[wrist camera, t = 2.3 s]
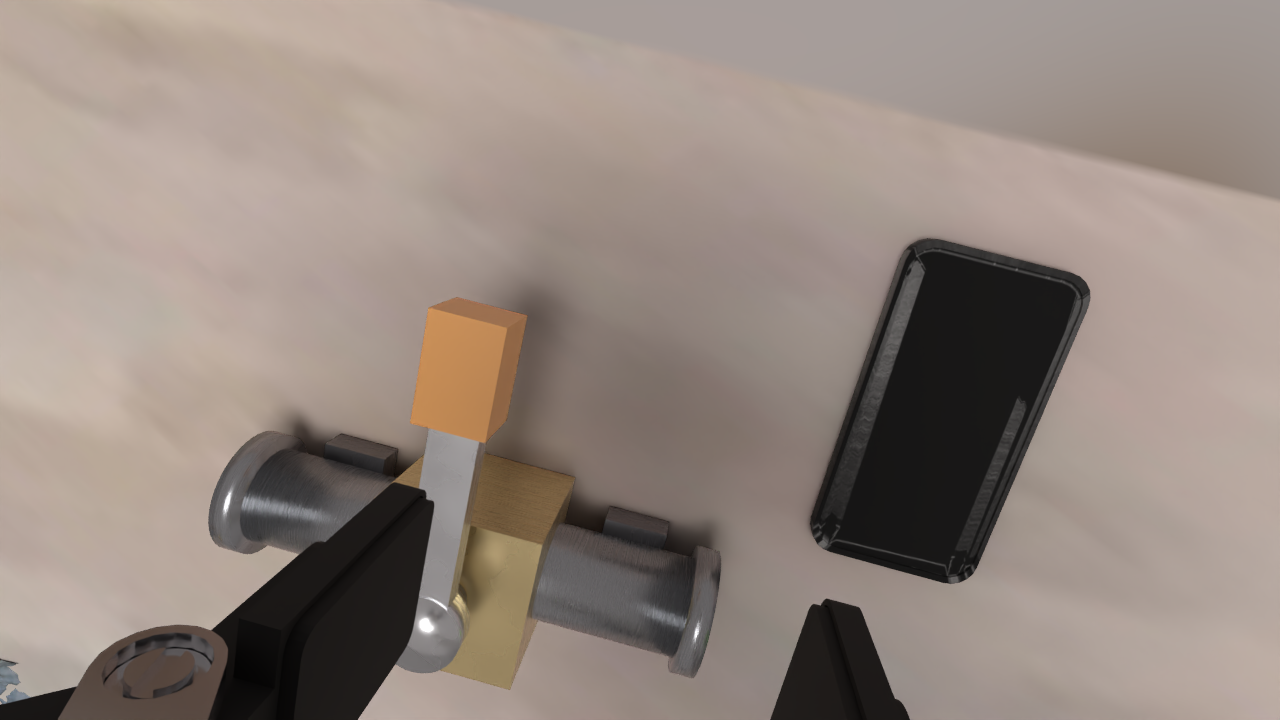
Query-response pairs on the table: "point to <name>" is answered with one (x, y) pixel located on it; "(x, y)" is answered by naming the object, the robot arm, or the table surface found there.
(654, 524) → the valve pipe
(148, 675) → the robot arm
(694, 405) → the table surface
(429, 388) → the valve lever
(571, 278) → the table surface
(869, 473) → the phone
